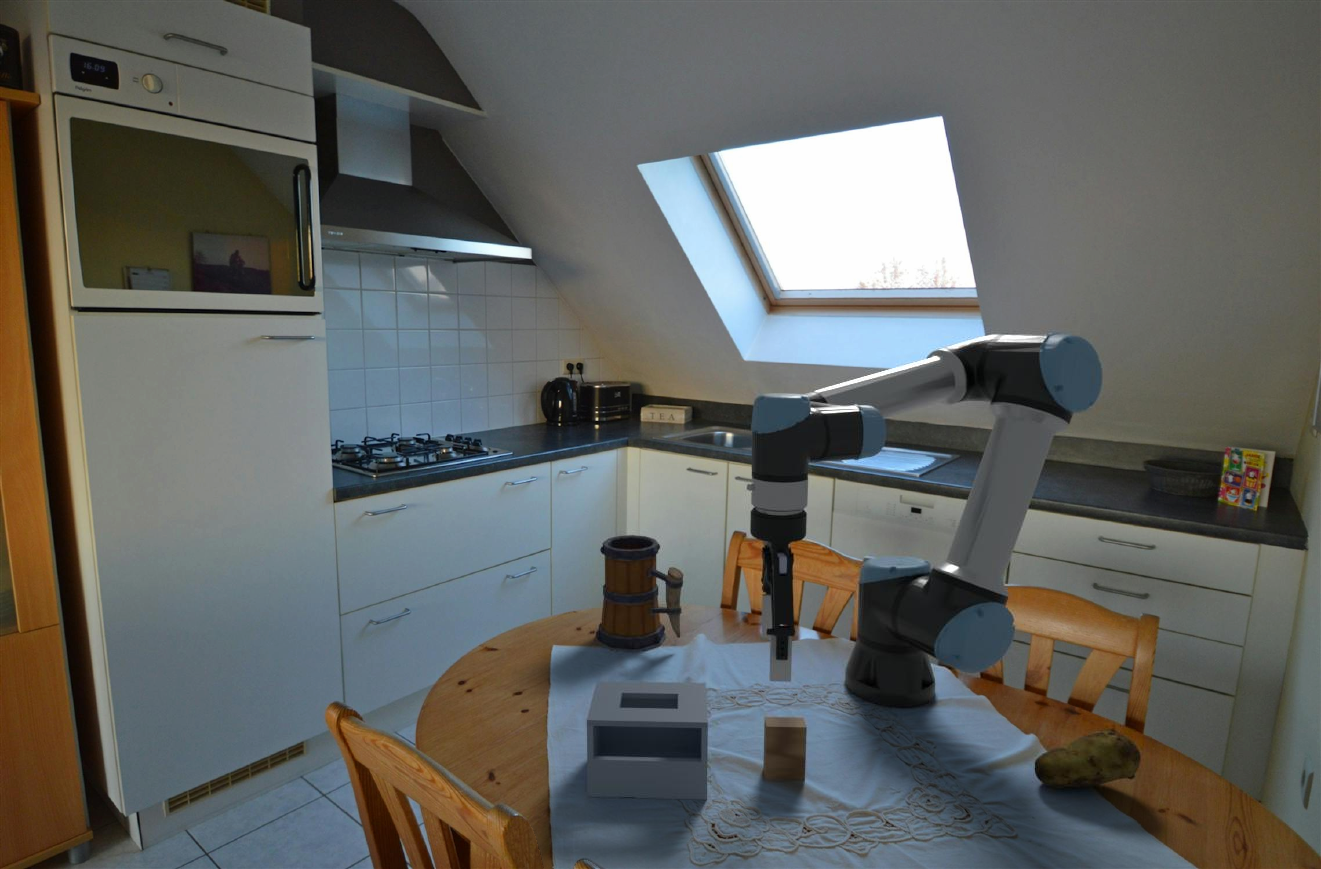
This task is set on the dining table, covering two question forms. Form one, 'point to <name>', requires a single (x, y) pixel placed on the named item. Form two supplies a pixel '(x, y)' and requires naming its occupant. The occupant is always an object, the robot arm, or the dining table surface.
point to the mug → (636, 595)
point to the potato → (1089, 761)
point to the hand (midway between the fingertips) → (775, 657)
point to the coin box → (648, 740)
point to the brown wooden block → (784, 748)
